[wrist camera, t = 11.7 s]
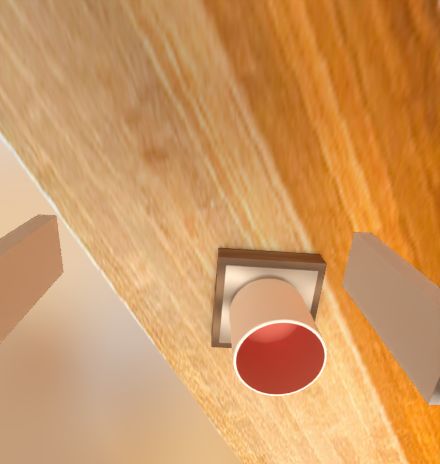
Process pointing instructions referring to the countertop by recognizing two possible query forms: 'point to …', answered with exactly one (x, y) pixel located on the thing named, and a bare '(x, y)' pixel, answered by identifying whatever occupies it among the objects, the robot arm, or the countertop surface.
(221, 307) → the stand
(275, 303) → the cup
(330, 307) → the countertop surface
